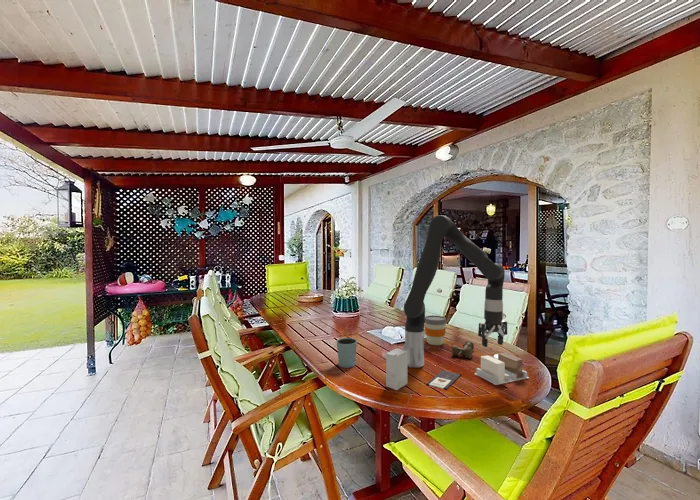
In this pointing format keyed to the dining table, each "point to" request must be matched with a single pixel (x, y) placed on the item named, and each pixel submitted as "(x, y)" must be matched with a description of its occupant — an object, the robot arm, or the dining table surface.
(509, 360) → the brown rectangular block
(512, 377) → the dish rack
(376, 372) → the dining table surface
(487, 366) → the cream rectangular block
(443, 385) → the chocolate bar
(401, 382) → the skincare box
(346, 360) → the grey cup
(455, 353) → the kendama
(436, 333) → the reusable coffee cup
